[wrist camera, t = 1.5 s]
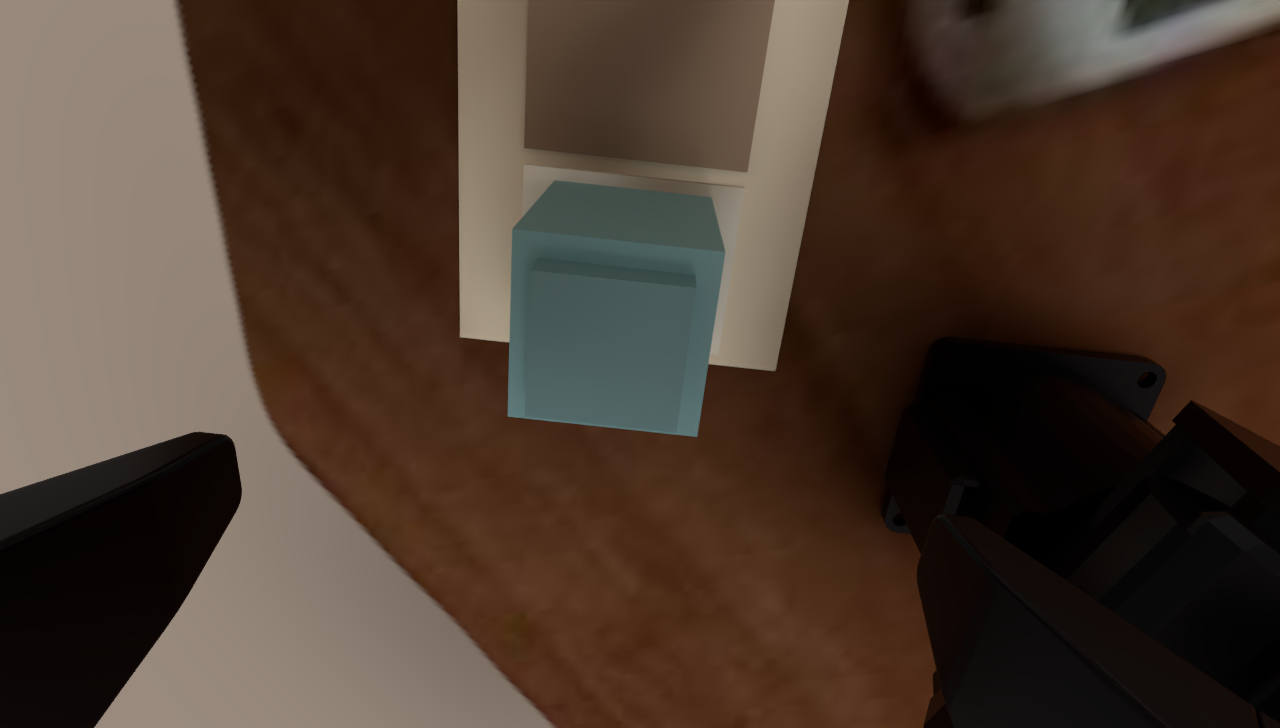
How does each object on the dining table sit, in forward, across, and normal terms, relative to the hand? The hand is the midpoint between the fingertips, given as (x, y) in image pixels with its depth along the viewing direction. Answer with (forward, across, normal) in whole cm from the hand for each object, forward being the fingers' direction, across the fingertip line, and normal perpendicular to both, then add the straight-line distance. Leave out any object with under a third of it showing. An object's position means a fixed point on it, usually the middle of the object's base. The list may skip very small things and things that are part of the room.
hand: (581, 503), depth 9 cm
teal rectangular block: (+11, 0, 0) cm, 11 cm away
